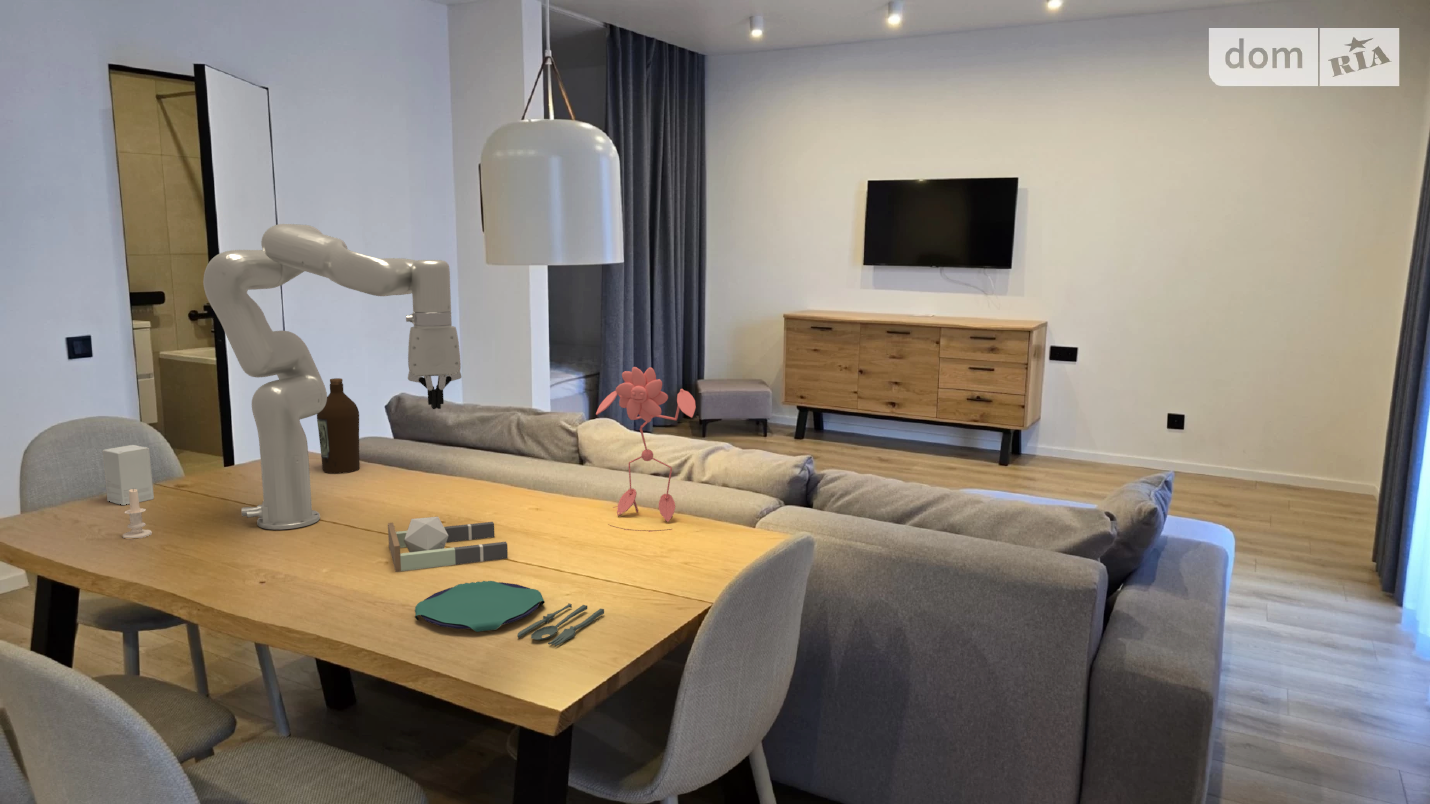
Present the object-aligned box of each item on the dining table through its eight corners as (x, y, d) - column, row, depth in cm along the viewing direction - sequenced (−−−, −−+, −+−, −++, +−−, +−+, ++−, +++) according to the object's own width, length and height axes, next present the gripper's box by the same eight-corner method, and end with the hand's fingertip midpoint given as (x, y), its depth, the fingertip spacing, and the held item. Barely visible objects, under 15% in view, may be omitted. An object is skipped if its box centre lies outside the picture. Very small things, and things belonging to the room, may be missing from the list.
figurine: (608, 506, 220) (607, 360, 215) (705, 520, 209) (707, 367, 204) (571, 523, 207) (569, 367, 201) (674, 539, 196) (674, 375, 190)
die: (434, 569, 178) (459, 524, 181) (393, 549, 176) (418, 504, 179) (433, 571, 186) (456, 527, 189) (393, 552, 184) (417, 508, 187)
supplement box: (155, 499, 223) (150, 447, 221) (122, 506, 216) (116, 453, 214) (139, 494, 226) (134, 443, 224) (106, 501, 220) (101, 449, 218)
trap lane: (395, 571, 175) (394, 546, 174) (388, 546, 189) (387, 523, 188) (507, 558, 183) (507, 533, 182) (493, 535, 197) (492, 512, 197)
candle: (155, 535, 195) (150, 487, 193) (127, 541, 191) (122, 491, 190) (147, 530, 198) (143, 483, 197) (119, 535, 195) (114, 487, 193)
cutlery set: (473, 585, 169) (473, 573, 169) (613, 614, 157) (613, 601, 156) (392, 624, 152) (391, 610, 151) (543, 660, 139) (542, 645, 139)
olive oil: (356, 463, 261) (351, 375, 257) (366, 471, 252) (361, 379, 248) (316, 468, 255) (310, 378, 251) (325, 476, 246) (319, 382, 242)
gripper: (395, 322, 185) (400, 413, 188) (472, 321, 191) (475, 408, 194) (392, 319, 192) (396, 407, 195) (466, 318, 198) (469, 403, 201)
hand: (436, 407), depth 194 cm, fingers closed
